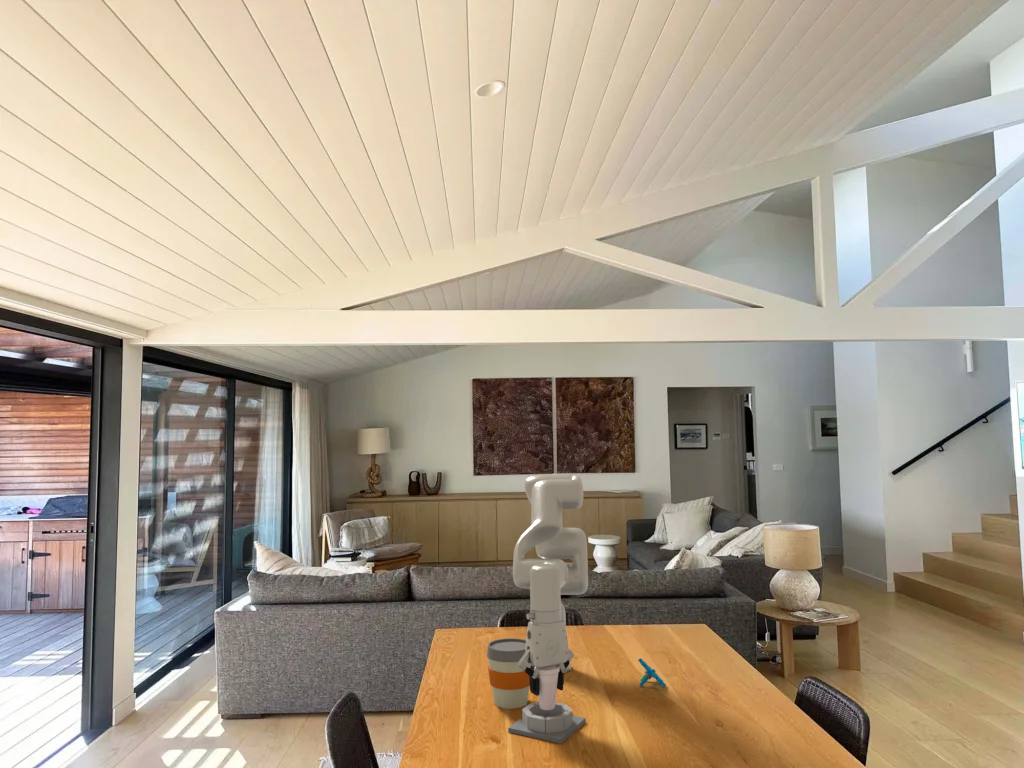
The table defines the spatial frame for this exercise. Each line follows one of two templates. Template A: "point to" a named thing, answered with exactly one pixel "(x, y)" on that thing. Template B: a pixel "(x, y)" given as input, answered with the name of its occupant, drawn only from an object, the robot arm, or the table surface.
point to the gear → (649, 674)
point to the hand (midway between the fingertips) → (546, 690)
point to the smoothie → (548, 686)
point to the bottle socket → (547, 723)
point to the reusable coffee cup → (508, 673)
